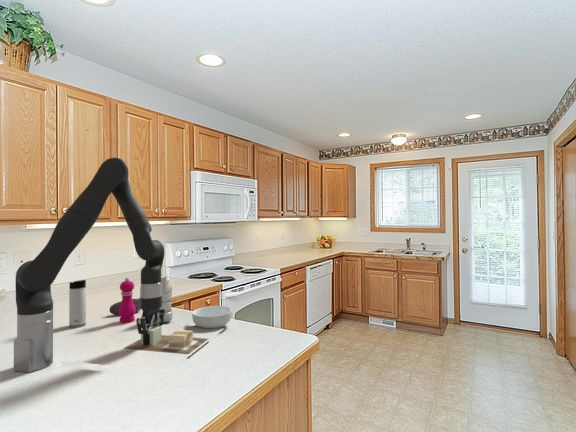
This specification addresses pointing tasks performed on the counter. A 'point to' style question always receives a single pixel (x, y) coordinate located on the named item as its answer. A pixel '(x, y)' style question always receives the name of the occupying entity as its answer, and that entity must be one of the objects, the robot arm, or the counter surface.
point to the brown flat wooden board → (164, 346)
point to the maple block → (180, 338)
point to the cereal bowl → (212, 316)
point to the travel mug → (77, 304)
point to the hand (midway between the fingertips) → (151, 341)
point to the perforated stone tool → (115, 307)
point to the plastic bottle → (166, 299)
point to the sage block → (153, 335)
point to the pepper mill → (127, 302)
